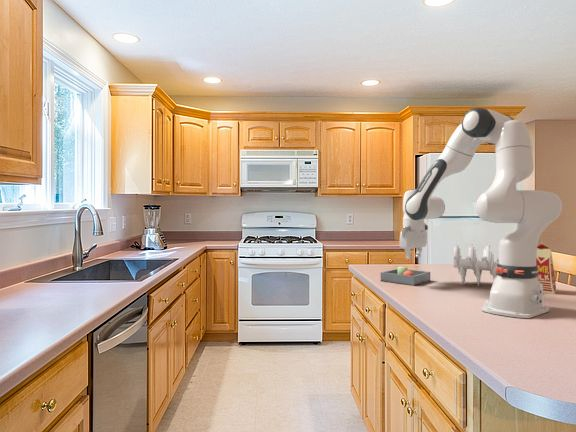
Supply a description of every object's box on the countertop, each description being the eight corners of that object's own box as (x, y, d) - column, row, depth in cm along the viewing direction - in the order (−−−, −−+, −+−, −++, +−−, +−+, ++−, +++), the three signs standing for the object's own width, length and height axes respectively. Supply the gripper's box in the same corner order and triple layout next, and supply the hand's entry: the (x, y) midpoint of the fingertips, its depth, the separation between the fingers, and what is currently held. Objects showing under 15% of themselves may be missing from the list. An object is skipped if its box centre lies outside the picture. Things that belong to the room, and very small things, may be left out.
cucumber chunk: (404, 280, 186) (404, 268, 186) (395, 278, 189) (395, 267, 189) (409, 278, 189) (409, 267, 189) (400, 277, 192) (400, 266, 192)
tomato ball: (400, 281, 183) (400, 270, 183) (406, 280, 186) (406, 269, 186) (411, 282, 179) (411, 271, 179) (416, 281, 183) (416, 270, 183)
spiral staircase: (518, 299, 168) (452, 292, 177) (512, 274, 183) (452, 268, 191) (525, 261, 160) (455, 255, 168) (518, 238, 175) (455, 234, 183)
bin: (414, 285, 176) (414, 276, 176) (380, 281, 187) (380, 272, 187) (430, 280, 187) (430, 271, 187) (398, 276, 198) (398, 268, 198)
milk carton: (554, 294, 159) (555, 242, 158) (526, 291, 165) (527, 240, 164) (556, 290, 166) (557, 240, 166) (530, 287, 172) (530, 239, 171)
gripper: (409, 226, 172) (409, 260, 171) (429, 226, 187) (429, 257, 187) (395, 226, 176) (395, 259, 176) (416, 226, 191) (416, 256, 191)
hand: (413, 258), depth 181 cm, fingers open, 8 cm apart
